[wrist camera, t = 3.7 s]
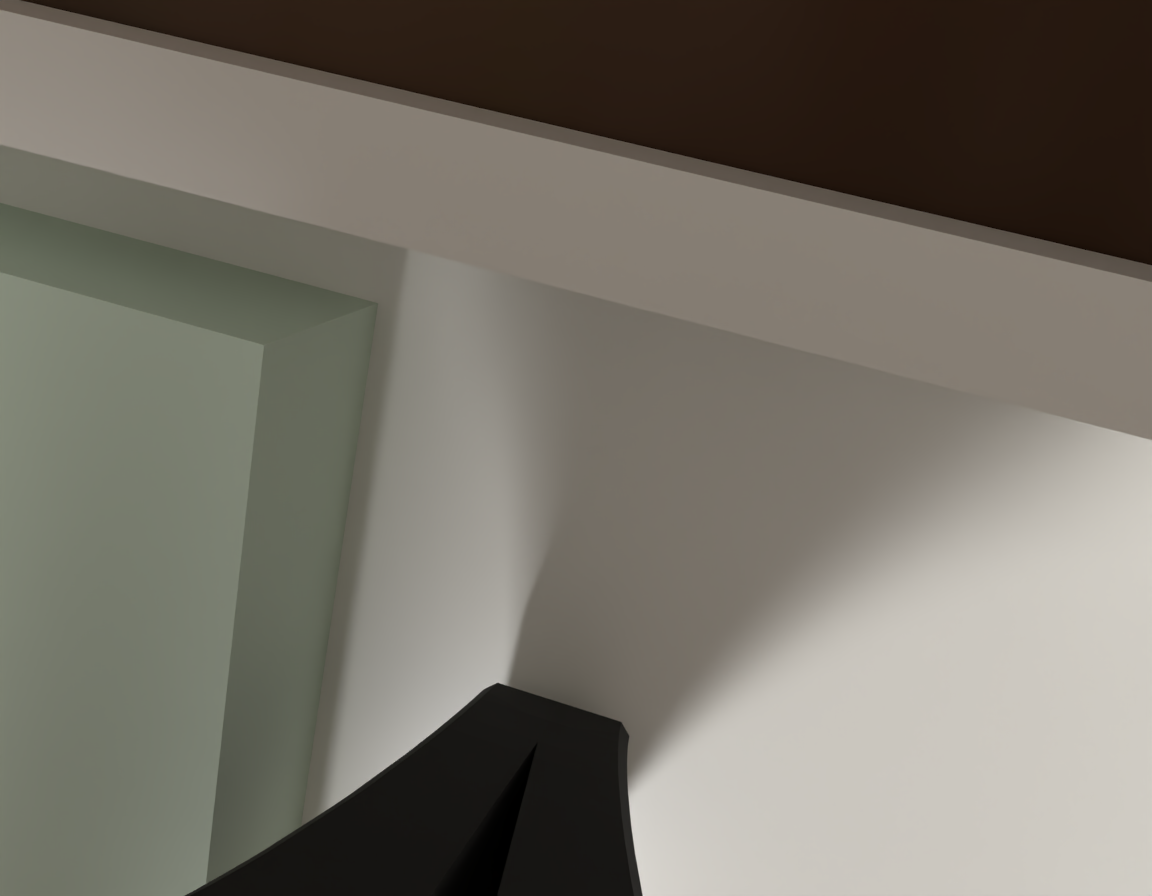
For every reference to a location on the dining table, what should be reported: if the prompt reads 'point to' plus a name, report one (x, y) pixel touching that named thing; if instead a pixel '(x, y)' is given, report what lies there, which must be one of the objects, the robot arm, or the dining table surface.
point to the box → (681, 465)
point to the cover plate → (162, 553)
